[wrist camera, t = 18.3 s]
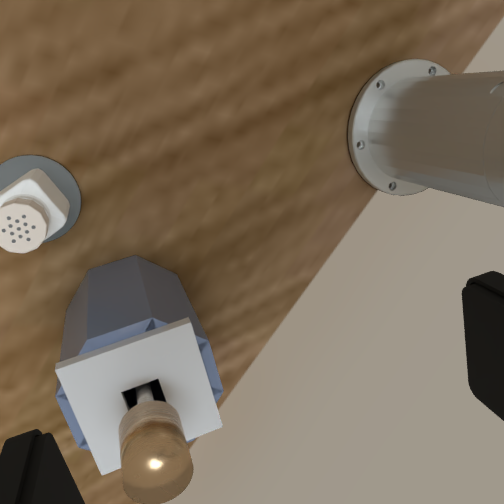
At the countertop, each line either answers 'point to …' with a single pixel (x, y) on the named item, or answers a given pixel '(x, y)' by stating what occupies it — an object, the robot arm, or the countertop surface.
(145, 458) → the plunger
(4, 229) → the pepper shaker
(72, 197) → the grey round dome
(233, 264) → the countertop surface
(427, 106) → the robot arm
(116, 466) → the press pot
